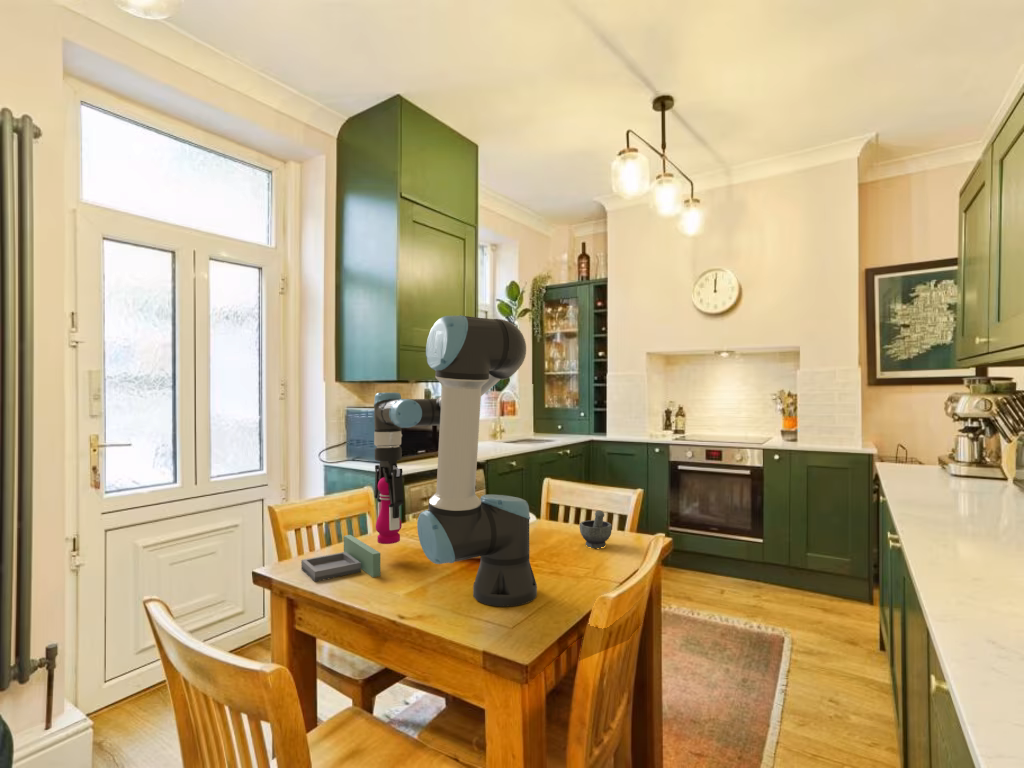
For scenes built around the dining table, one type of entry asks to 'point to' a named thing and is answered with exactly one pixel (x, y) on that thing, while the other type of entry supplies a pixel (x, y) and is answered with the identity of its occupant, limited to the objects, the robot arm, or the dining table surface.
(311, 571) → the tray
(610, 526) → the mortar and pestle
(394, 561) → the dining table surface
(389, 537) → the pepper mill
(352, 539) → the board
